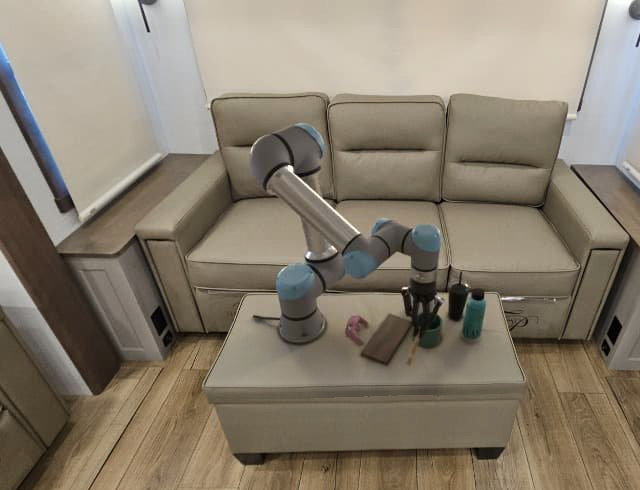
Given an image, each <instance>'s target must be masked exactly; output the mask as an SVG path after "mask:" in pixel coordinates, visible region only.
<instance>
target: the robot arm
mask: <svg viewBox="0 0 640 490" xmlns="http://www.w3.org/2000/svg"><path fill="white" fill-rule="evenodd" d="M325 154H326V144H325V141H324V139H323V137H322V135H321V133H320V132H319V131H318V130H316V129H315V127H313V126H312V125H311V124H308V123H304V122H299V123H296V124H291V125H288V126H286V127H284V128H281V129H279V130H276V131H274V132H271V133H269V134H265V135H263V136H261V137H259V138H257V140H256V141H255V142H254V143H253V145H252V147H251V149H250V152H249V167H250V170H251V173H252V176H253V177H254V179H255V180H256V182H257V183H258V184H259V186H260V187H261V188H262V189H263V190H264V191H265V192H266V193H267V194H268V195H271V196H272V195H275V196H276V197H278V198H279V199H280V200H281V201H282V202H283V203H284V204H285V205H287V207H288V208H289V209H291V210H292V211H293V212H294V213H295V214H296V215H297V216H298V220H299V223H300V227H301V231H302V234H303V238H304V242H305V246H306V248H305V249H304V251H303V257H304V261H305V262H304V263H303V262H297V263H296V262H295V264H292V263H291V264H289V265H287V266H285V267H283V268H282V269H280V271H279V273H278V274H277V276H276V279H275V285H276V287H275V290H276V294H277V297H278V302H279V307H280V312H281V314H280V317H275V316H260V315H257V314H253V315H252V318H253V319H258V320H267V321H269V320H270V321H279V322H278V331H279V335H280V336H281V338H282V339H283V340H284V341H285V342H288V343H291V344H298V345H300V344H307V343H310V342H312V341H314V340H316V339H317V338H319V337H320V336H321V335H322V334H323V332H324V330H325V328H326V320H325V317H324V315H323V314H322V312H321V310H320V308H319V307H318V301H317V299H318V298H319V297H321V295H323V294H324V293H325V292H327V291H328V290H329V289H330V288H332V287H333V286H334V285H335V284H337V283H339V282H340V281H341V280H342V279H343V278H344V277H345V276H346V275H347V274H348V276H350V277H351V278H352V279H355V280H363V279H365V278H366V277H368V276H370V275H371V274H372V273H374V272H375V271H376V270H377V269H378V268H379V267H380V266H381V265H382V264H384V263H385V262H386V261H388V260H389V259H390V258H391V257H392V256H394V255H395V254H396V253H400V254H403V255H405V256H408V257H410V270H409V271H410V272H409V274H410V275H409V285H410V286H408V285H404V286H403V287H402V288H401V289H400V291H399V292H400V294H401V297H402V301H403V307H404V314H405V316H406V317H409V318H410V319H411V320H410V321H411V327H413V333H412V335H413V338H414V337H416V335H417V333H418V330H419V323H420V316H417V315H418V310H419V304H420V302H421V303H422V307H423V320H422V322H421V323H420V335H419V338H420V339H422V337H423V336H424V334H425V331H426V330H427V329H428V325H429V324H430V325H432V324H433V322H434V320H435V318H436V316H437V314H438V313H439V310H440V308H441V307H442V305H443V304H444V302H445V299H444V298H443V297H439V296H438V293H437V291H436V290H437V282H438V273H439V272H438V271H439V259H440V251H441V247H442V243H441V238H442V236H441V235H442V234H441V231H440V229H439V228H438V227H437V226H436V225H434V224H426V223H420V224H418V225H415V226H414V227H412V226H409V225H406V224H403V223H401V222H400V221H397V220H394V219H390V218H386V217H381V218H378V220H376V222H375V224H374V225H372V229H371V233H370V234H371V235H370V236H369V237H368V238H367V237H366V236H365V235H364V234H363V233H361V232H360V231H359V230H358V229H357V228H356V227H355V226H354V225H353V224H351V223H350V222H349V221H348V220H347V219H346V218H345V217H344V216H343V215H342V214H340V213H339V212H338V211H337V210H336V208H335V209H334V208H333V206H331V205H330V204H329V203H328V202H327V201H326V200H325V199H324V197H323V192H322V189H321V184H320V179H319V174H320V173H321V171H322V165H321V161H320V160H321V159H323V157H324V155H325ZM410 294H411V296H412V297H413V308H412V304H411V297H410ZM432 300H435V302H434V303H435V304H434V308H433V311H432V314H431V317H430V302H431V301H432Z"/></svg>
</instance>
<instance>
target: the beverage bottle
mask: <svg viewBox="0 0 640 490" xmlns="http://www.w3.org/2000/svg"><path fill="white" fill-rule="evenodd" d="M485 294H486V293H485V290H484V289H482V288H480V287H474V288H473V289H472V291H471V294H470V296H468V297H467V301H466V304H465V309H464V317H463V322H462V327H461V334H462V336H463V337H464V339H467V340H469V341H474V340H478V339H479V338H480V336H481V334H482V330H483V326H484V324H483V323H484V319H485V315H486V313H485V312H486V307H487V301H486V299H485Z"/></svg>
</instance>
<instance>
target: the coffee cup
mask: <svg viewBox="0 0 640 490" xmlns="http://www.w3.org/2000/svg"><path fill="white" fill-rule="evenodd" d="M431 314H432V312H430V317H431ZM417 316H420V323H421V322H422V320H423V312H421V313H419V314H418V315H417ZM420 323H419V328H420ZM442 329H443V319H442V317H441V316H440V315H439V314H438V313H437V316H436V318H435V320H434V322H433V324H432V325H430V324H429V325H428V329H427V330H426V331H425V334H424V336H423V337H422V339H420V340H419V343H418V346H420V347H422V348H433V347H436V346H437V345H439V343H441V340H442V332H443V330H442ZM416 336H417V335H416ZM415 338H416V337H414V336H413V339H414V341H415Z"/></svg>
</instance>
